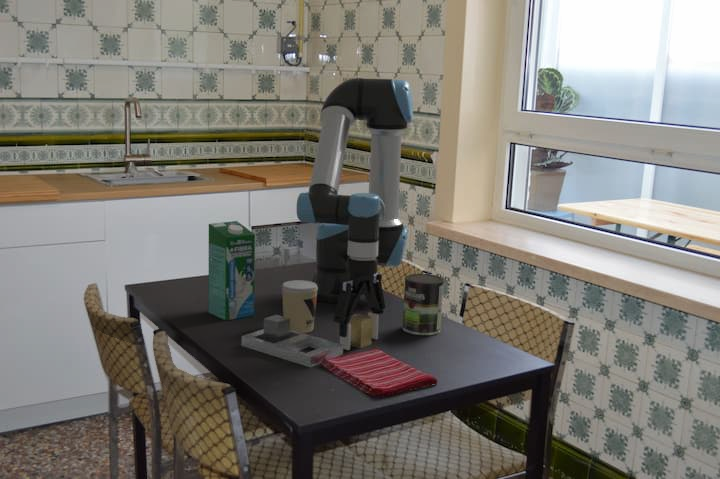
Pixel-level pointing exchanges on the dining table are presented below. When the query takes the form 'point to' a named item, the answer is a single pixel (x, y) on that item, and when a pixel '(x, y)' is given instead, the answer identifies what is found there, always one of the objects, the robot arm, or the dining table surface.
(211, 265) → the milk carton
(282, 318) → the tall grey box
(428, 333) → the coffee can
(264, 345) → the grey tray
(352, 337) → the tan rectangular block
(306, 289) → the coffee cup
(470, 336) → the dining table surface
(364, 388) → the dish towel
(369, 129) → the robot arm
